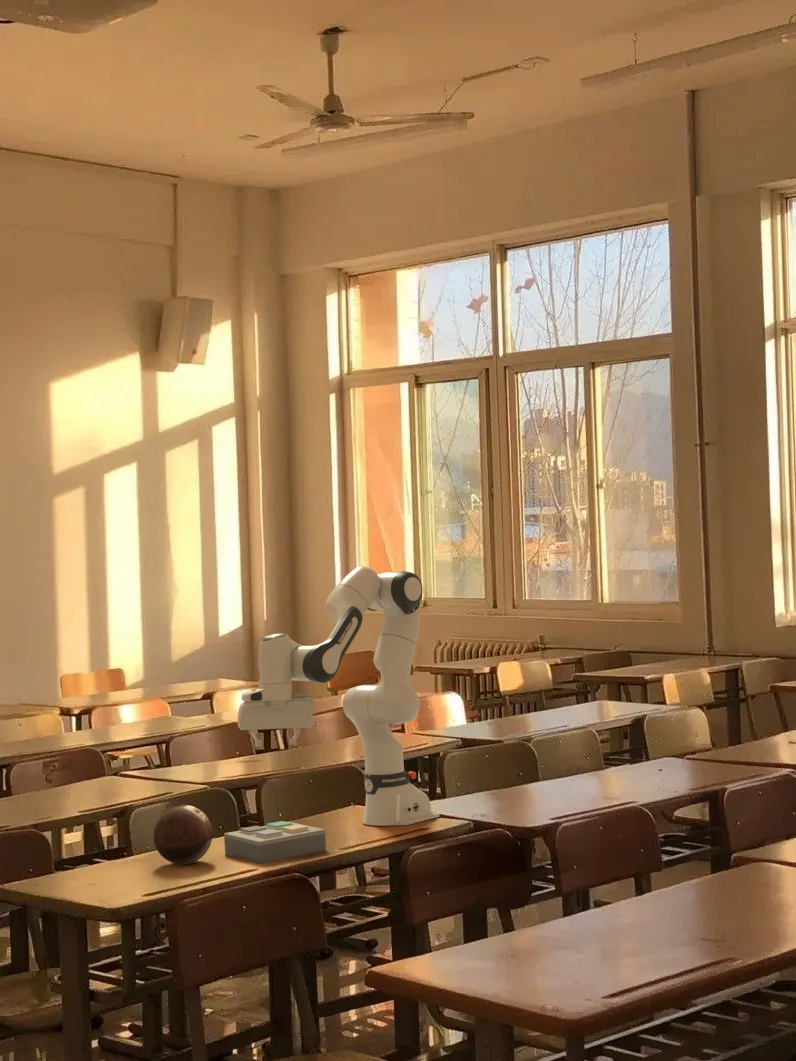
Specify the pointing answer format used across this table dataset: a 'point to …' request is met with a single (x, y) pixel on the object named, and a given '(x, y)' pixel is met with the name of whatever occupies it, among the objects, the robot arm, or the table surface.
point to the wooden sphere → (182, 834)
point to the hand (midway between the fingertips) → (275, 746)
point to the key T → (295, 829)
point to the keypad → (274, 845)
